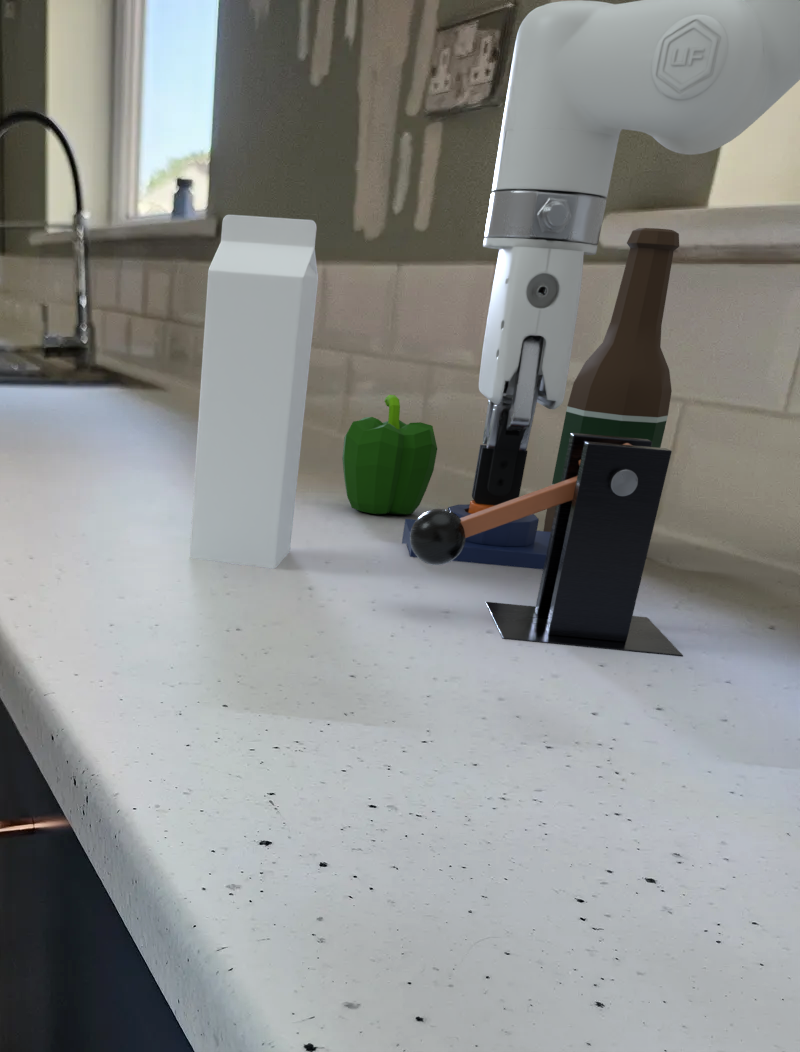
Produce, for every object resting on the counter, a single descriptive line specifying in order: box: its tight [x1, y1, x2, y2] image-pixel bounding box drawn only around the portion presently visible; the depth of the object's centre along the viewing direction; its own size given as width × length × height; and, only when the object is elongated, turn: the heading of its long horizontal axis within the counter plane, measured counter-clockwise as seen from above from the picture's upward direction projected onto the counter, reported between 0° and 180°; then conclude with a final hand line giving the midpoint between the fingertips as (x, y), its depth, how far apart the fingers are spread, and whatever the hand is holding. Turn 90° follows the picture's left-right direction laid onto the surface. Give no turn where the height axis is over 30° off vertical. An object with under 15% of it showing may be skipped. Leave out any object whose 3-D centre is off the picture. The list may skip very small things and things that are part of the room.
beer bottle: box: [543, 227, 680, 532], centre depth 90 cm, size 8×8×24 cm
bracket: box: [485, 433, 684, 658], centre depth 65 cm, size 10×8×12 cm
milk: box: [188, 214, 319, 570], centre depth 74 cm, size 6×6×22 cm
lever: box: [410, 443, 631, 566], centre depth 64 cm, size 13×3×3 cm, turn 84°
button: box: [468, 499, 495, 514], centre depth 84 cm, size 4×4×2 cm
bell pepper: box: [341, 394, 438, 516], centre depth 101 cm, size 8×8×10 cm
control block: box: [401, 503, 551, 570], centre depth 85 cm, size 12×9×4 cm
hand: (493, 502), depth 83 cm, fingers closed
